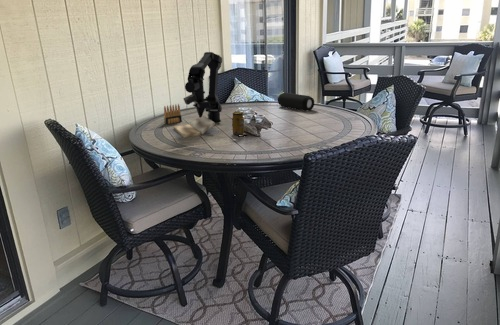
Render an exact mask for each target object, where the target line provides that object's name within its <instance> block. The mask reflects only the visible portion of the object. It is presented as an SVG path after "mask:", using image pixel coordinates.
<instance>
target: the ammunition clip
mask: <svg viewBox="0 0 500 325" xmlns="http://www.w3.org/2000/svg"><path fill="white" fill-rule="evenodd" d="M163 110H164V111H163V116H164V117H163V121H164V122H163V123H164V125H171V124H176V123H183V119H182V113H181V106H180V103H177V104H176V103H175V104H172V105H171V104H170V105H169V106H168V104H167V105H164V107H163Z"/></svg>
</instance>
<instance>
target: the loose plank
mask: <svg viewBox="0 0 500 325" xmlns="http://www.w3.org/2000/svg"><path fill="white" fill-rule="evenodd" d="M188 125H190V126H192V127H193V128H195V129H196V130H198V131H199V132H200V133H201V134H203V133H205V132H206V131H207V130H209V129H210V128H211V127H212V128H213V127H214V126H215V125H216V122H213V121H212V120H210V119H208V117H206V116H204V115H202V117H201V118H200V117H199V116H198V117H197V118H195V119H194V120H193V121H192V122H190V123H189V124H188Z"/></svg>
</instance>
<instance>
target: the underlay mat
mask: <svg viewBox="0 0 500 325" xmlns="http://www.w3.org/2000/svg"><path fill="white" fill-rule="evenodd" d="M167 130H168V131H169V132H170V133H171V134H173V135H174V136H175V137H176V138H178V139H179V140H181V139H189V138H195V137H202V136H209V135H214V134H221V132H220V131H219V130H217V129H215V128H213V126H212V127H211V128H210V129H209V130H207V131H206V132H205V133H203V134H201V135H198V136H191V137H185V138H184V137H183V136H182V135H180V134H179V133H178V132H177V131H175V130H174V128H170V129H169V128H168V129H167Z"/></svg>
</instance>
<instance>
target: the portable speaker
mask: <svg viewBox="0 0 500 325" xmlns="http://www.w3.org/2000/svg"><path fill="white" fill-rule="evenodd" d="M277 104H278V105H279V106H280V107H283V108H286V107H287V109H292V108H293V110H297V109H298V110H299V111H303V110H304V111H305V112H309V111H311V110H313V108H314V106H315V99H314V98H313V97H312V96H311V95H304V94H300V93H299V94H298V93H291V92H283V93H282V92H281V93H280V94H279V95H278V98H277Z"/></svg>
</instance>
